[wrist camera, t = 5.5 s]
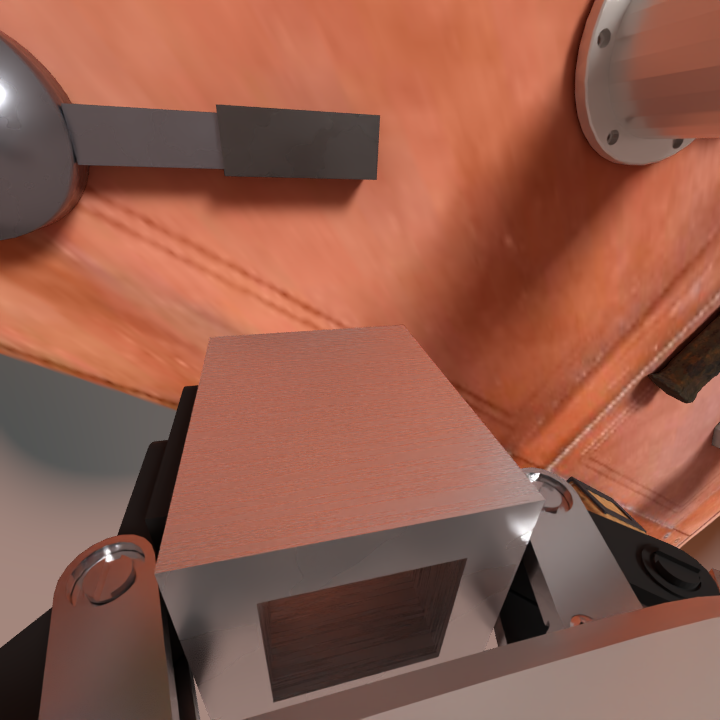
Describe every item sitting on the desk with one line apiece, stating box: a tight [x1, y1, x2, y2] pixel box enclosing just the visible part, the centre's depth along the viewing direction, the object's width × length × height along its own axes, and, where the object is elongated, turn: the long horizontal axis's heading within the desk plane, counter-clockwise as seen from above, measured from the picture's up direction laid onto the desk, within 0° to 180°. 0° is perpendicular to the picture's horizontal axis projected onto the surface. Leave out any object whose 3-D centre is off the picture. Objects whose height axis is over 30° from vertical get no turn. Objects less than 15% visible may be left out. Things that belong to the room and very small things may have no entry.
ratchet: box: [0, 31, 380, 240], centre depth 17 cm, size 24×9×6 cm, turn 87°
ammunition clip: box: [566, 477, 647, 535], centre depth 42 cm, size 11×2×12 cm, turn 53°
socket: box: [154, 325, 545, 720], centre depth 8 cm, size 5×5×6 cm
